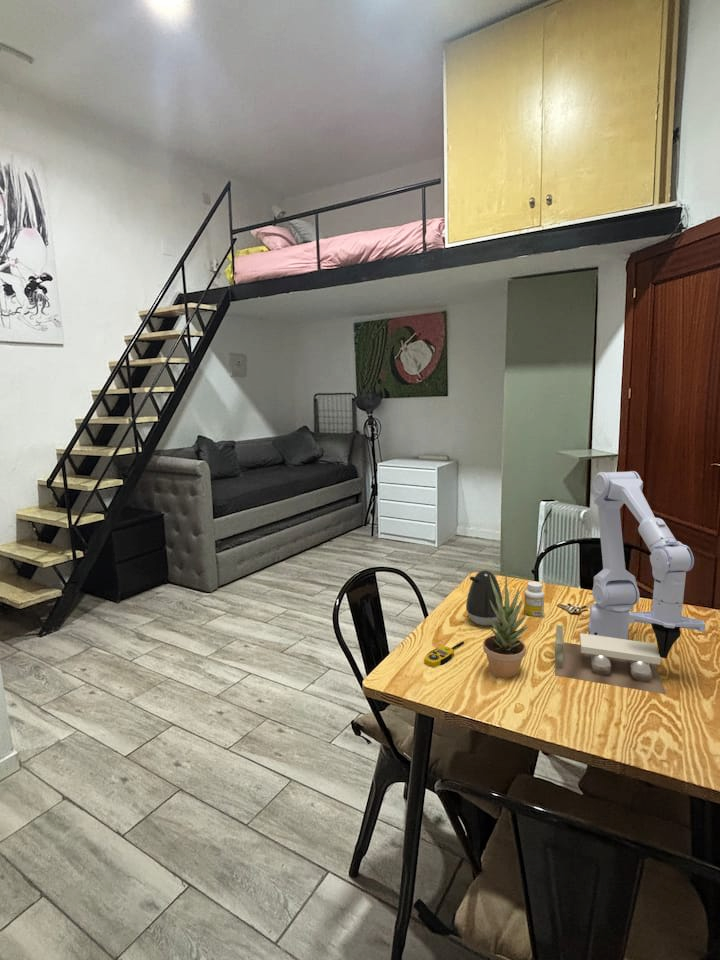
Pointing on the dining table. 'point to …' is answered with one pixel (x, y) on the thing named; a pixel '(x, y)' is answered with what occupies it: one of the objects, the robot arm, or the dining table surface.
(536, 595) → the supplement bottle
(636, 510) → the robot arm
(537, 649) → the dining table surface
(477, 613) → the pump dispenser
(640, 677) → the roller
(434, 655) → the yellow walkie-talkie
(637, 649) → the slab
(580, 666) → the board
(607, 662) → the roller
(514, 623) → the potted plant
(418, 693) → the dining table surface
